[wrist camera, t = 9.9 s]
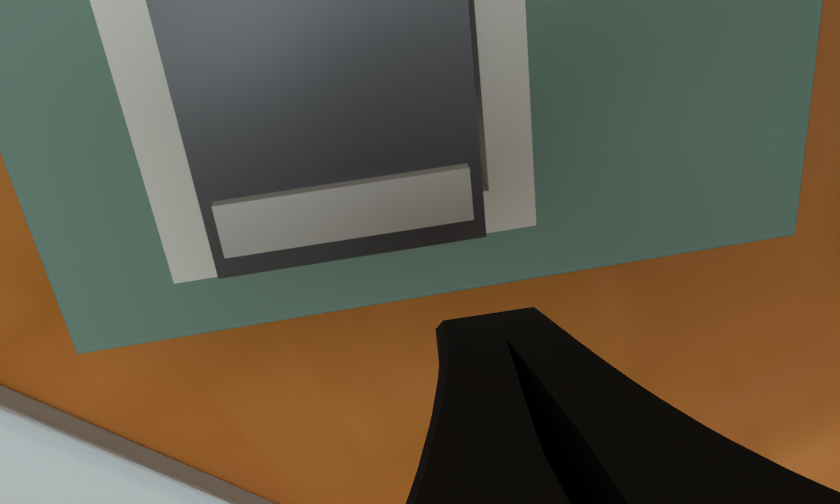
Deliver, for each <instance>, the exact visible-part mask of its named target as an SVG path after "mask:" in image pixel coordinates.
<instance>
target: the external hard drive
mask: <svg viewBox="0 0 840 504" xmlns="http://www.w3.org/2000/svg"><path fill="white" fill-rule="evenodd" d="M0 504H275V503H273V502H271V501H269V500H266V499H264V498H262V497H259V496H257V495H255V494H252V493H250V492H248V491H245V490H243V489H241V488H238V487H236V486H234V485H232V484H229V483H227V482H225V481H223V480H220V479H218V478H216V477H213V476H211V475H209V474H206V473H204V472H202V471H199V470H197V469H195V468H193V467H190V466H188V465H186V464H183V463H181V462H179V461H176V460H174V459H172V458H169V457H167V456H165V455H162V454H160V453H158V452H155V451H153V450H151V449H148V448H146V447H144V446H141V445H139V444H137V443H134V442H132V441H130V440H127V439H125V438H123V437H121V436H118V435H116V434H114V433H111V432H109V431H107V430H104V429H102V428H100V427H97V426H95V425H93V424H91V423H88V422H86V421H84V420H82V419H79V418H77V417H74V416H72V415H70V414H68V413H65V412H63V411H61V410H58V409H56V408H54V407H51V406H49V405H46V404H44V403H42V402H39V401H37V400H35V399H33V398H30V397H28V396H26V395H23V394H21V393H19V392H16V391H14V390H12V389H9V388H7V387H5V386H3V385H0Z"/></svg>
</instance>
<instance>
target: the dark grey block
mask: <svg viewBox="0 0 840 504" xmlns="http://www.w3.org/2000/svg"><path fill="white" fill-rule="evenodd" d="M146 4H147V7H148V11H149V15H150V19H151V23H152V27H153V30H154V34H155V38H156V42H157V46H158V50H159V53H160V57H161V61H162V65H163V69H164V73H165V76H166V80H167V84H168V88H169V92H170V96H171V99H172V103H173V107H174V111H175V115H176V119H177V122H178V126H179V130H180V134H181V138H182V142H183V145H184V149H185V153H186V157H187V161H188V165H189V168H190V172H191V176H192V180H193V184H194V188H195V191H196V195H197V199H198V203H199V207H200V211H201V214H202V218H203V222H204V226H205V230H206V234H207V237H208V241H209V245H210V249H211V253H212V257H213V260H214V264H215V268H216V272H217V276H218V279H222V278H229V277H235V276H241V275H248V274H254V273H260V272H267V271H273V270H279V269H286V268H292V267H298V266H305V265H311V264H318V263H324V262H330V261H337V260H343V259H349V258H356V257H362V256H368V255H375V254H381V253H387V252H394V251H400V250H406V249H413V248H419V247H426V246H432V245H438V244H445V243H451V242H457V241H464V240H470V239H476V238H483V237H487V236H486V223H485V210H484V197H483V184H482V172H481V159H480V146H479V133H478V120H477V108H476V95H475V82H474V69H473V56H472V43H471V31H470V18H469V5H468V0H146Z"/></svg>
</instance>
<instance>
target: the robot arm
mask: <svg viewBox="0 0 840 504" xmlns="http://www.w3.org/2000/svg"><path fill="white" fill-rule="evenodd" d="M436 338H437V347H438V357H439V374H438V383H437V388H436V394H435V400H434V406H433V412H432V417H431V421H430V426H429V429H428V433H427V437H426V440H425V444H424V448H423V451H422V455H421V459H420V463H419V466H418V469H417V473H416V476H415V479H414V482H413V485H412V488H411V491H410V493H409V496H408V499H407V502H406V504H840V492H838V491H835V490H833V489H831V488H828V487H826V486H823V485H821V484H819V483H817V482H815V481H812V480H810V479H808V478H806V477H804V476H802V475H799V474H797V473H795V472H793V471H791V470H789V469H787V468H784V467H782V466H780V465H778V464H777V463H775V462H773V461H771V460H769V459H767V458H765V457H763V456H761V455H759V454H757V453H755V452H753V451H751V450H749V449H747V448H745V447H743V446H741V445H739V444H737V443H735V442H733V441H731V440H730V439H728V438H726V437H724V436H722V435H721V434H719V433H717V432H715V431H713V430H712V429H710V428H708V427H706V426H705V425H703V424H701V423H699V422H698V421H696V420H694V419H693V418H691V417H690V416H688V415H686V414H685V413H683V412H681V411H680V410H678V409H676V408H675V407H673V406H672V405H670V404H668V403H667V402H665V401H663V400H662V399H660V398H659V397H657V396H656V395H654V394H652V393H651V392H649V391H648V390H646V389H645V388H643V387H642V386H640V385H639V384H637V383H636V382H634V381H633V380H631V379H630V378H628V377H627V376H626V375H624V374H623V373H621V372H620V371H618V370H617V369H616V368H614V367H613V366H611V365H610V364H609V363H607V362H606V361H604V360H603V359H602V358H600V357H599V356H598V355H596V354H595V353H593V352H592V351H591V350H589V349H588V348H587V347H585V346H584V345H583V344H581V343H580V342H579V341H577V340H576V339H575V338H574V337H572V336H571V335H570V334H568V333H567V332H566V331H564V330H563V329H562V328H561V327H559V326H558V325H557V324H555V323H554V322H553V321H551V320H550V319H549V318H548V317H546V316H545V315H544V314H542V313H541V312H540V311H538V310H537V309H536V308H534V307H531V308H524V309H517V310H511V311H504V312H497V313H491V314H484V315H477V316H471V317H464V318H458V319H451V320H444V321H443V322H442V323H441V324H440V325H439V326H438V327H437V328H436Z"/></svg>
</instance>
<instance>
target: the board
mask: <svg viewBox="0 0 840 504" xmlns="http://www.w3.org/2000/svg"><path fill="white" fill-rule="evenodd" d="M822 3H823V0H468V5H469V18H470V31H471V43H472V56H473V69H474V82H475V95H476V108H477V120H478V133H479V146H480V159H481V172H482V184H483V197H484V210H485V223H486V236H487V237H483V238H476V239H470V240H464V241H457V242H451V243H445V244H438V245H432V246H426V247H419V248H413V249H406V250H400V251H394V252H387V253H381V254H375V255H368V256H362V257H356V258H349V259H343V260H337V261H330V262H324V263H318V264H311V265H305V266H298V267H292V268H286V269H279V270H273V271H267V272H260V273H254V274H248V275H241V276H235V277H229V278H222V279H218V276H217V272H216V268H215V264H214V260H213V257H212V253H211V249H210V245H209V241H208V237H207V234H206V230H205V226H204V222H203V218H202V214H201V211H200V207H199V203H198V199H197V195H196V191H195V188H194V184H193V180H192V176H191V172H190V168H189V165H188V161H187V157H186V153H185V149H184V145H183V142H182V138H181V134H180V130H179V126H178V122H177V119H176V115H175V111H174V107H173V103H172V99H171V96H170V92H169V88H168V84H167V80H166V76H165V73H164V69H163V65H162V61H161V57H160V53H159V50H158V46H157V42H156V38H155V34H154V30H153V27H152V23H151V19H150V15H149V11H148V7H147V4H146V0H0V153H1V155H2V158H3V160H4V163H5V166H6V168H7V171H8V174H9V176H10V179H11V181H12V184H13V187H14V189H15V192H16V195H17V197H18V200H19V202H20V205H21V208H22V210H23V213H24V216H25V218H26V221H27V223H28V226H29V229H30V231H31V234H32V237H33V239H34V242H35V244H36V247H37V250H38V252H39V255H40V258H41V260H42V263H43V265H44V268H45V271H46V273H47V276H48V279H49V281H50V284H51V286H52V289H53V292H54V294H55V297H56V300H57V302H58V305H59V307H60V310H61V313H62V315H63V318H64V321H65V323H66V326H67V328H68V331H69V334H70V336H71V339H72V342H73V344H74V347H75V349H76V352H77V354H80V353H86V352H92V351H98V350H104V349H110V348H116V347H123V346H129V345H135V344H141V343H147V342H153V341H159V340H165V339H171V338H177V337H183V336H189V335H195V334H201V333H207V332H213V331H219V330H225V329H231V328H237V327H243V326H249V325H255V324H261V323H267V322H273V321H279V320H285V319H291V318H297V317H303V316H309V315H315V314H321V313H327V312H333V311H339V310H345V309H351V308H357V307H363V306H369V305H375V304H381V303H387V302H393V301H399V300H405V299H411V298H417V297H423V296H429V295H435V294H441V293H447V292H453V291H459V290H465V289H471V288H477V287H483V286H489V285H495V284H501V283H507V282H513V281H519V280H525V279H531V278H537V277H543V276H549V275H555V274H561V273H567V272H573V271H579V270H585V269H591V268H597V267H603V266H609V265H615V264H621V263H627V262H633V261H640V260H646V259H652V258H658V257H664V256H670V255H676V254H682V253H688V252H694V251H700V250H706V249H712V248H718V247H724V246H730V245H736V244H742V243H748V242H754V241H760V240H766V239H772V238H778V237H784V236H790V235H795V230H796V222H797V213H798V205H799V196H800V188H801V180H802V171H803V163H804V154H805V146H806V138H807V129H808V121H809V112H810V104H811V96H812V87H813V79H814V70H815V62H816V54H817V45H818V37H819V28H820V20H821V11H822Z"/></svg>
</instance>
